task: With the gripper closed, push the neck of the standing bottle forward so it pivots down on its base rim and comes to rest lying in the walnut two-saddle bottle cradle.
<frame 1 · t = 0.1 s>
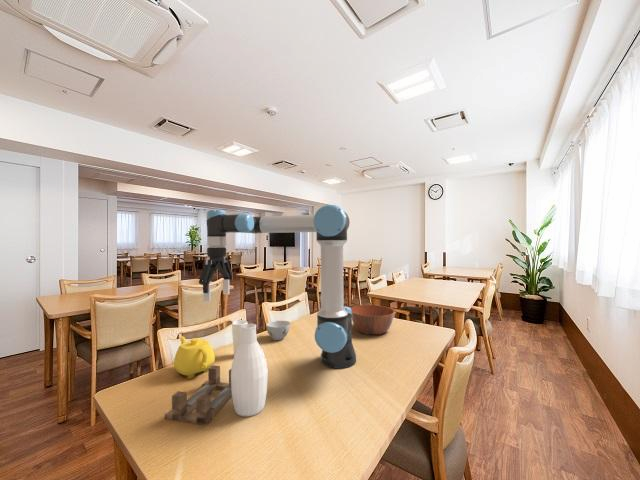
hand: (217, 297, 113), 28 cm above the table, fingers open, 13 cm apart
teacup: (276, 338, 143), on the table
teapot: (193, 370, 108), on the table
white pillar candle: (240, 356, 122), on the table
bottle: (249, 408, 84), on the table
cradle: (206, 402, 87), on the table
bowl: (371, 330, 154), on the table
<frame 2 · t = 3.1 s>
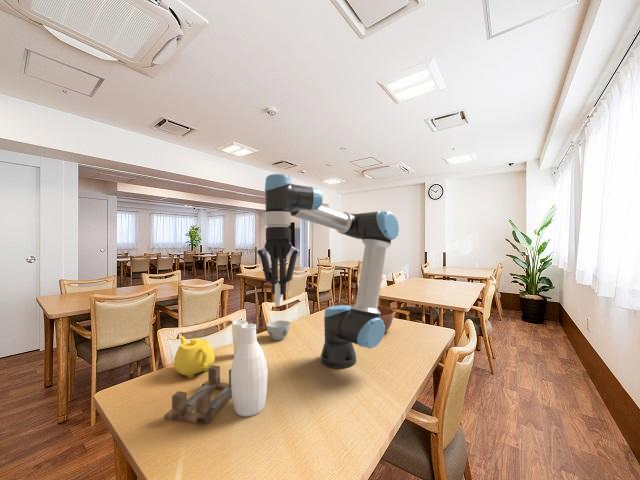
hand: (279, 305, 81), 32 cm above the table, fingers closed
nothing on the table moved.
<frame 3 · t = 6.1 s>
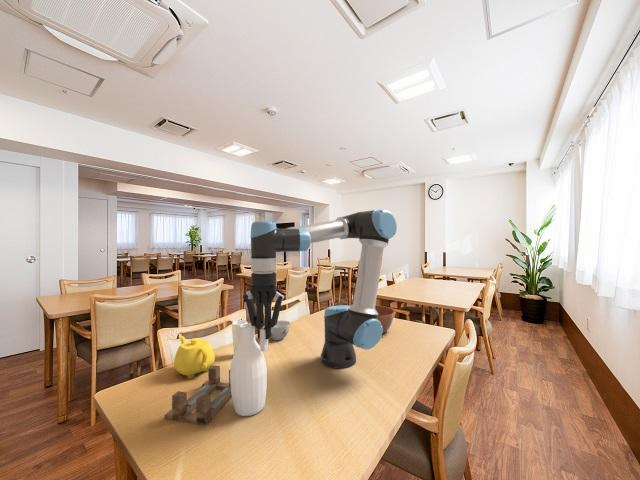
hand: (264, 349, 82), 19 cm above the table, fingers closed
bottle: (249, 408, 84), on the table, touching gripper
everything else where it was.
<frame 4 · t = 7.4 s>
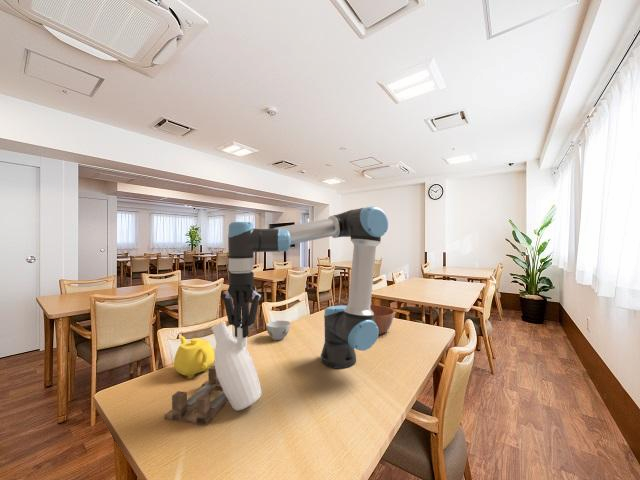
hand: (241, 347, 84), 19 cm above the table, fingers closed
bottle: (248, 402, 84), point 2 cm above the table, touching gripper
everything else where it was.
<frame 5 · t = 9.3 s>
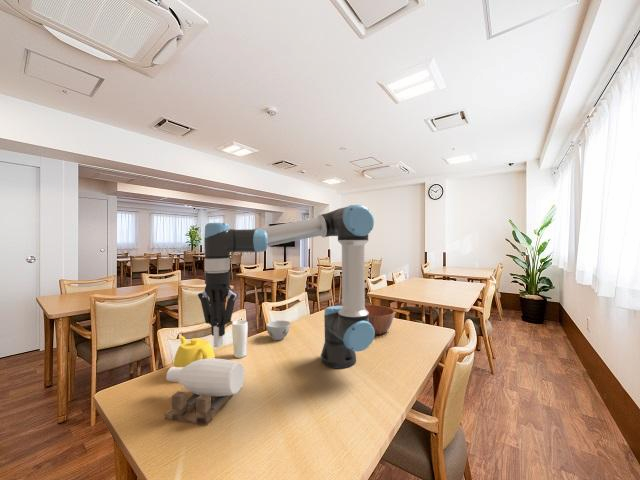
hand: (218, 345, 86), 18 cm above the table, fingers closed
bottle: (238, 378, 85), point 8 cm above the table, touching cradle
everything else where it was.
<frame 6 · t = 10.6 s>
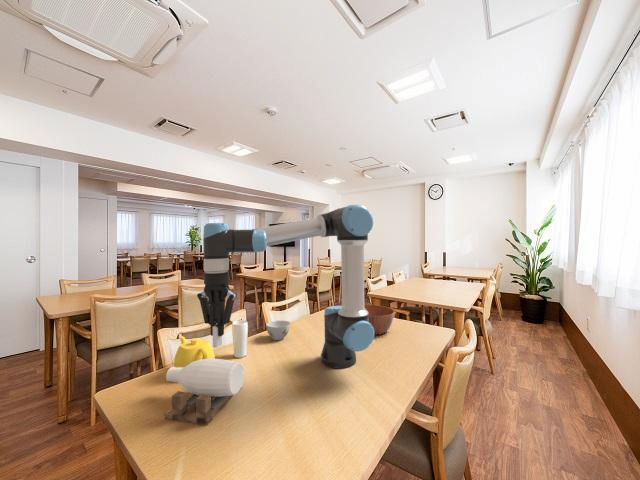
hand: (217, 345, 86), 18 cm above the table, fingers closed
nothing on the table moved.
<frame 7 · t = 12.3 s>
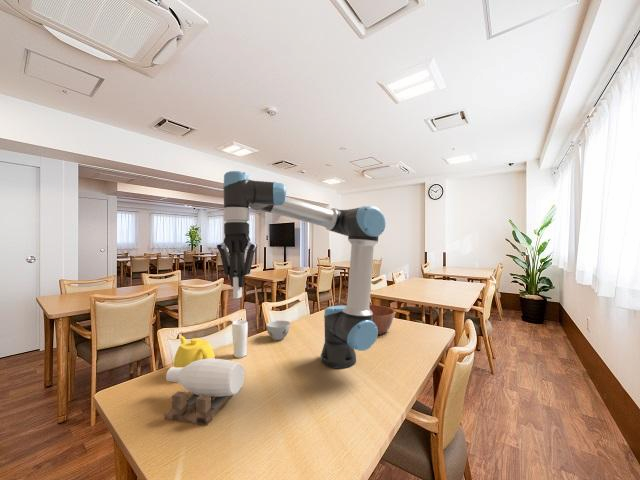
hand: (237, 297, 85), 34 cm above the table, fingers closed
nothing on the table moved.
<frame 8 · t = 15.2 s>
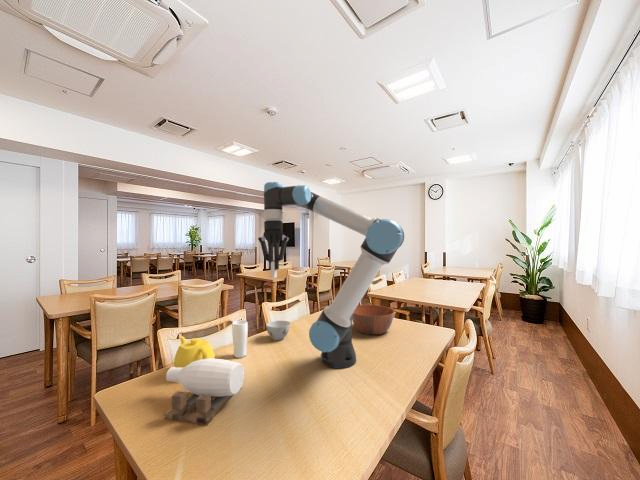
hand: (274, 277, 112), 36 cm above the table, fingers closed
nothing on the table moved.
at the end: bottle tilted 93°; bottle inside the target area (6.6 cm from its centre), point 8.1 cm above the table; bottle touching cradle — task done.
